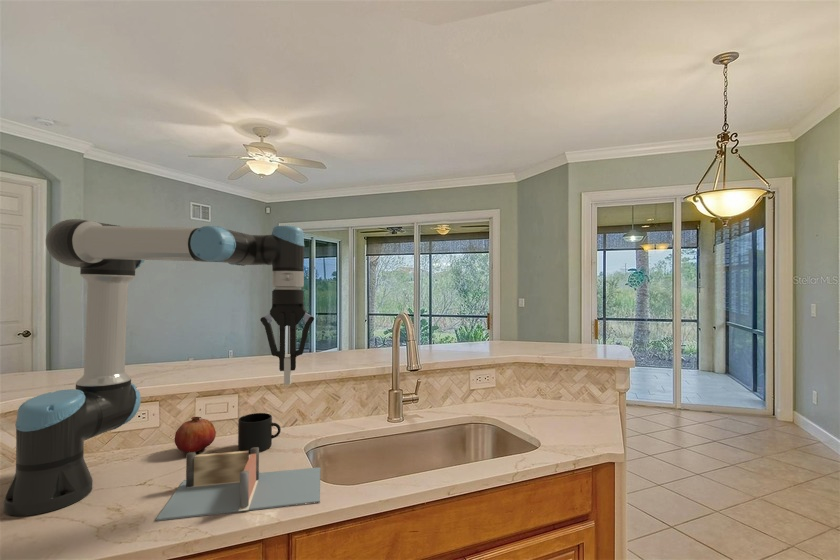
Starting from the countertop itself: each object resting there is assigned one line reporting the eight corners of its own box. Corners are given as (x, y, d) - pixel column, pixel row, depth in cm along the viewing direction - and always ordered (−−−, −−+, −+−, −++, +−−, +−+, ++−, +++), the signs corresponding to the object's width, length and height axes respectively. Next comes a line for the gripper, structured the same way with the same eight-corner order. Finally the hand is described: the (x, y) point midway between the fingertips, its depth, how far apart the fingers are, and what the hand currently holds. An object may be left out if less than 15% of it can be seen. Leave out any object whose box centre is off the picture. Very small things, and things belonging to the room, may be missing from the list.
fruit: (217, 443, 130) (217, 410, 130) (212, 455, 121) (213, 420, 121) (178, 447, 127) (179, 413, 127) (170, 460, 117) (171, 424, 117)
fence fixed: (184, 489, 100) (185, 455, 100) (187, 485, 102) (187, 452, 102) (258, 482, 104) (258, 449, 104) (259, 478, 106) (259, 446, 106)
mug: (279, 451, 124) (279, 420, 124) (235, 455, 121) (235, 423, 121) (281, 439, 133) (281, 411, 133) (240, 443, 130) (241, 414, 130)
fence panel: (249, 481, 103) (249, 451, 103) (257, 480, 103) (257, 451, 104) (238, 508, 90) (239, 474, 91) (247, 507, 91) (247, 473, 91)
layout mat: (154, 522, 86) (154, 520, 86) (184, 481, 104) (184, 479, 104) (319, 503, 94) (319, 501, 94) (320, 468, 112) (320, 466, 112)
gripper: (258, 288, 99) (257, 388, 99) (314, 288, 102) (314, 386, 102) (262, 288, 107) (261, 381, 106) (315, 288, 109) (314, 379, 109)
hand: (287, 383), depth 104 cm, fingers closed
